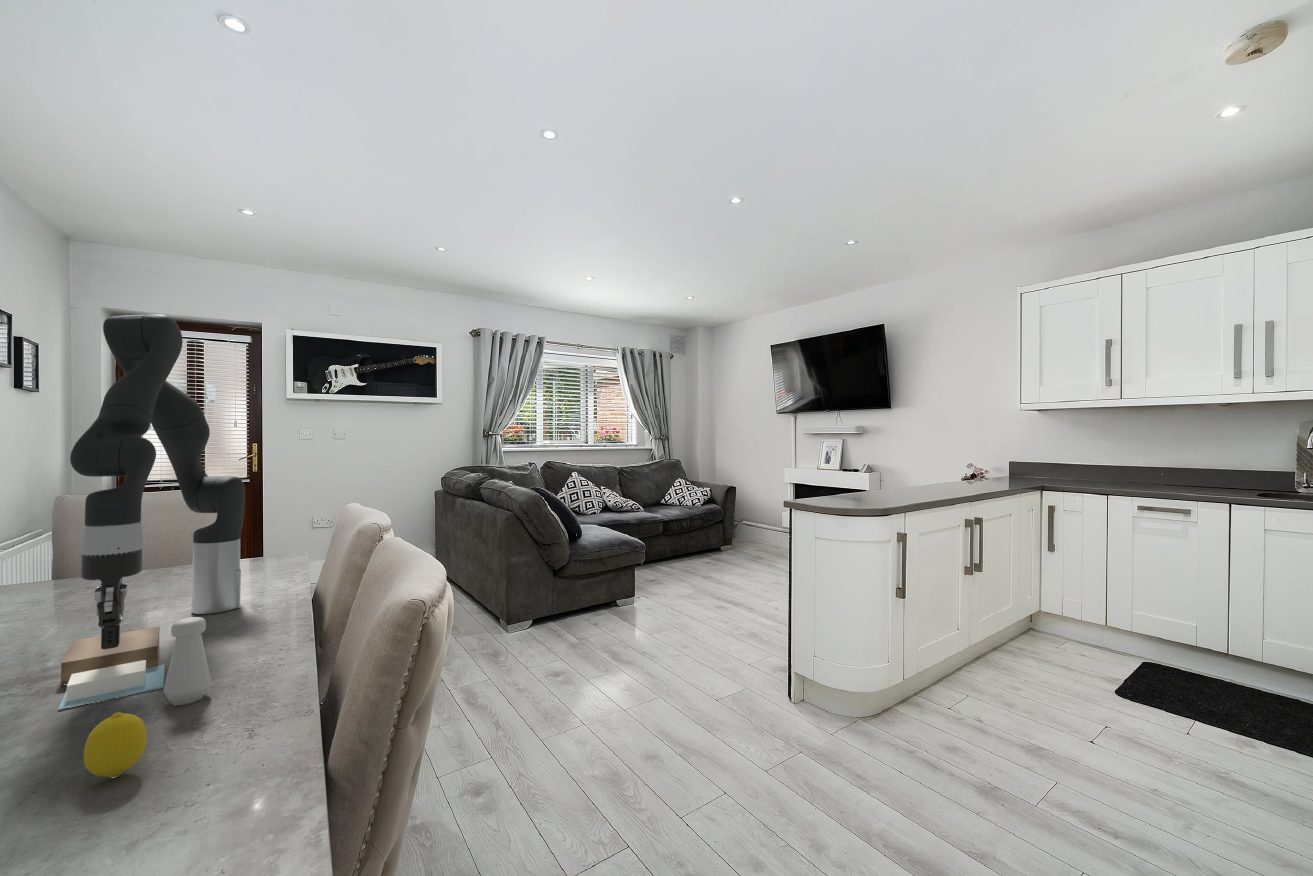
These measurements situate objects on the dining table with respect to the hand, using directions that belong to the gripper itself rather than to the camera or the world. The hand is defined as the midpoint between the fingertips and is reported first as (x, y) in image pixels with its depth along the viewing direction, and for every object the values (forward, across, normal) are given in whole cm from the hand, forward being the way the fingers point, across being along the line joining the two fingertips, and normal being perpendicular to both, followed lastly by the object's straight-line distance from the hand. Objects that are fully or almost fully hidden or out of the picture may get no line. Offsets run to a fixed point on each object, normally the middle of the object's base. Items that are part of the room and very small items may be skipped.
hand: (110, 647), depth 94 cm
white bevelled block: (+3, -6, 0) cm, 6 cm away
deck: (+5, +8, 0) cm, 9 cm away
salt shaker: (+6, -19, -10) cm, 23 cm away
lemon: (+6, -40, -3) cm, 41 cm away
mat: (+5, -5, -1) cm, 8 cm away
